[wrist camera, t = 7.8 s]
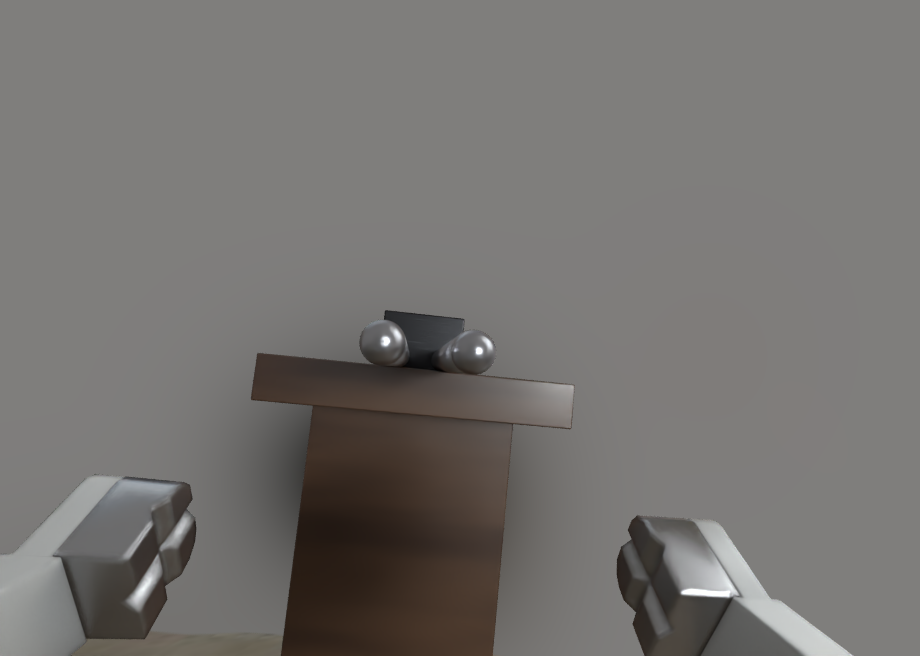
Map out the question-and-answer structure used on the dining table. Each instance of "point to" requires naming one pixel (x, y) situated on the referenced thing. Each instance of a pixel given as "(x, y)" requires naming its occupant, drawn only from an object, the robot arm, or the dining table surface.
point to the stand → (401, 503)
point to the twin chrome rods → (427, 344)
